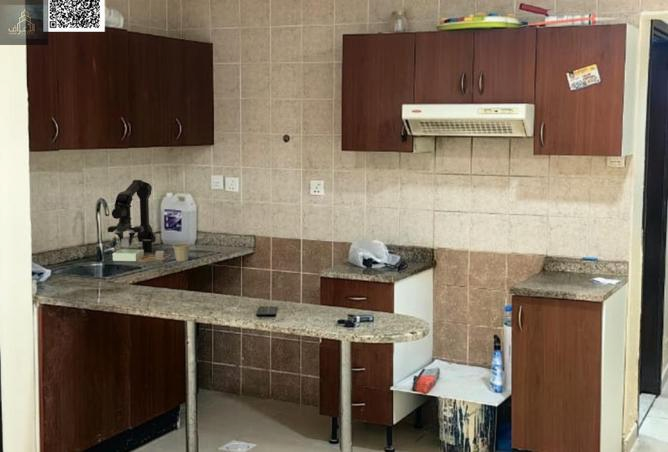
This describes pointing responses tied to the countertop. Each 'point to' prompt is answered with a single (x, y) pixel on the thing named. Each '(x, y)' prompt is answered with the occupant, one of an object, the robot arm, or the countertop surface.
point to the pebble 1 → (125, 242)
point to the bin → (127, 255)
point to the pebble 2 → (159, 254)
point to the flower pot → (181, 251)
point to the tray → (153, 258)
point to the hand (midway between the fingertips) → (126, 244)
